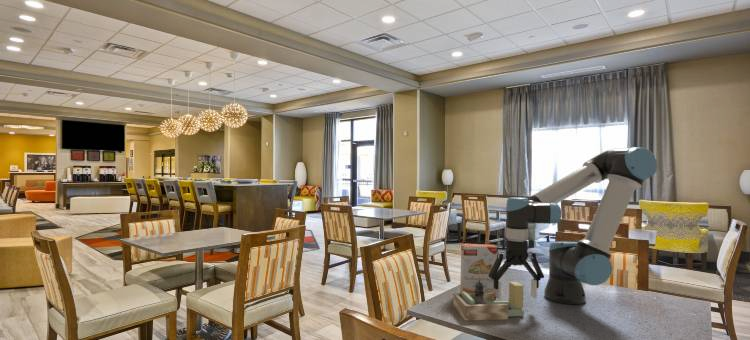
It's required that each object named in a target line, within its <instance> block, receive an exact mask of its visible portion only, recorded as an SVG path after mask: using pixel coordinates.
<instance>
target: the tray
mask: <svg viewBox="0 0 750 340" xmlns="http://www.w3.org/2000/svg"><path fill="white" fill-rule="evenodd" d="M508 287H509V288H508V300H498V301H497V300H494V301H486V303H487V304H508V308H510V309H508V317H524V316H525V310H524V308H523V307H524V285H523V284H522V283H519V282H518V281H509V282H508ZM462 299H463V300H464V301H465V302H466V303H467V304H468V305H474V302H475V300H474V299H473V298H472V297H470V296H469V295H468V294H467V293H466V292H465V291H462Z"/></svg>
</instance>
